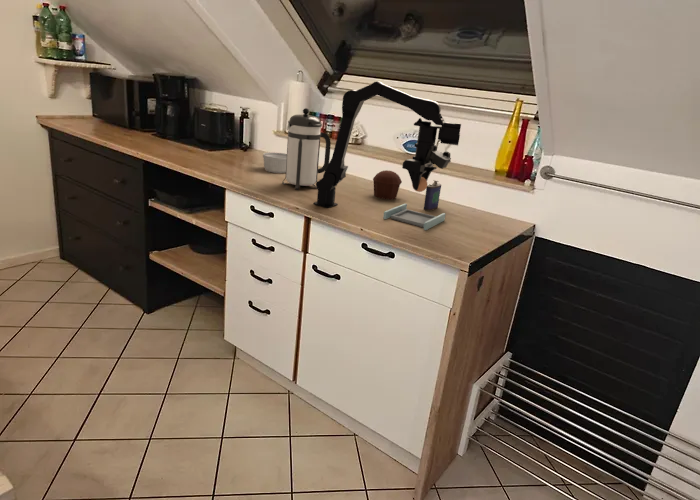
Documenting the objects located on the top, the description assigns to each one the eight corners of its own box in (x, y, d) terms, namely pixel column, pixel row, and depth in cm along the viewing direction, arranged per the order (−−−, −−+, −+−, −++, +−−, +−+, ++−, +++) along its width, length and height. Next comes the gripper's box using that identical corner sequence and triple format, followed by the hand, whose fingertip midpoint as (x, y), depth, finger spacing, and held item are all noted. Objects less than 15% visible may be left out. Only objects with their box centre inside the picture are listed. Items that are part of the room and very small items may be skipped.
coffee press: (316, 193, 188) (323, 112, 177) (276, 187, 190) (280, 107, 180) (327, 184, 204) (334, 109, 193) (290, 178, 206) (295, 104, 196)
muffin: (390, 202, 187) (394, 176, 184) (365, 195, 192) (368, 170, 189) (404, 197, 197) (407, 172, 193) (380, 191, 202) (383, 167, 198)
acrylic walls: (425, 230, 158) (427, 222, 157) (383, 218, 165) (384, 211, 164) (444, 220, 171) (445, 213, 170) (404, 210, 178) (405, 203, 177)
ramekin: (295, 169, 225) (296, 154, 222) (288, 175, 212) (289, 159, 210) (266, 166, 226) (267, 151, 223) (258, 171, 213) (259, 155, 211)
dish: (423, 227, 160) (423, 224, 160) (390, 218, 166) (391, 215, 166) (437, 220, 170) (437, 216, 170) (406, 212, 176) (406, 209, 175)
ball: (422, 194, 161) (424, 179, 160) (408, 191, 164) (410, 176, 162) (428, 191, 166) (430, 177, 164) (415, 188, 168) (417, 174, 166)
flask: (433, 205, 189) (437, 178, 185) (440, 207, 187) (444, 179, 183) (421, 209, 182) (426, 181, 178) (428, 211, 180) (433, 182, 176)
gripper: (438, 147, 148) (430, 198, 153) (460, 143, 163) (451, 189, 168) (405, 141, 153) (398, 190, 158) (429, 138, 168) (422, 182, 173)
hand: (419, 188), depth 164 cm, fingers closed on ball, 5 cm apart
